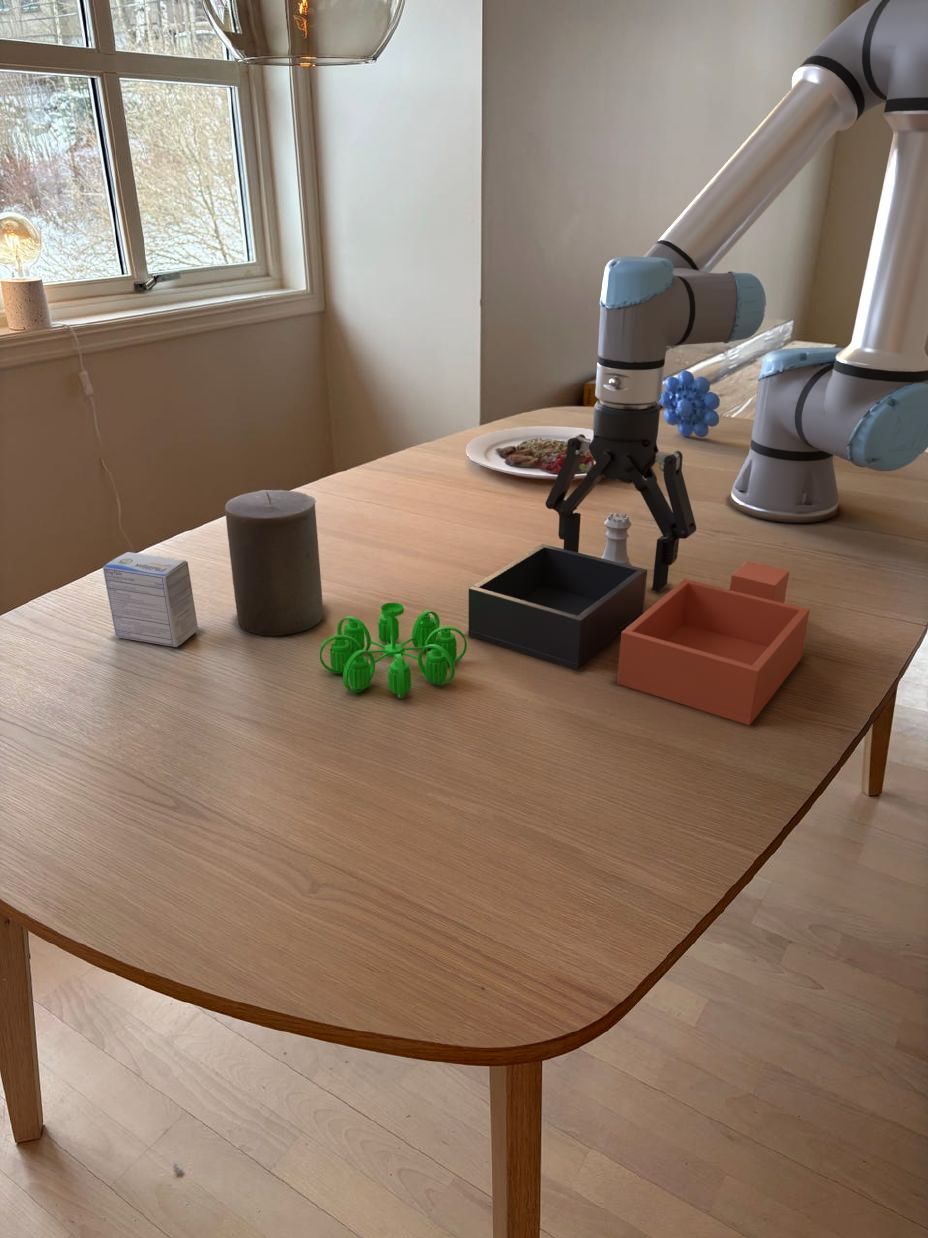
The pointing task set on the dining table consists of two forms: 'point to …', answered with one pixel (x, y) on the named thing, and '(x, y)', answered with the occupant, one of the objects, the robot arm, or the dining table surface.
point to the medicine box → (151, 598)
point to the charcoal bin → (557, 605)
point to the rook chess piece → (617, 538)
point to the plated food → (529, 451)
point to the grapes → (690, 404)
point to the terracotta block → (760, 581)
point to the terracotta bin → (713, 649)
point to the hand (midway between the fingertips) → (613, 575)
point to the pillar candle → (275, 561)
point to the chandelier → (393, 650)
